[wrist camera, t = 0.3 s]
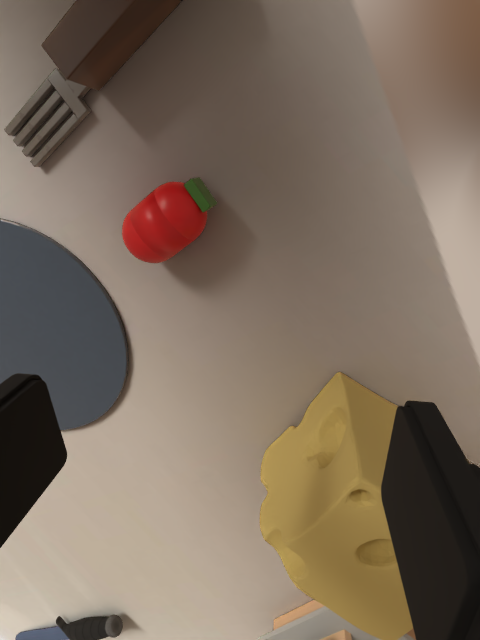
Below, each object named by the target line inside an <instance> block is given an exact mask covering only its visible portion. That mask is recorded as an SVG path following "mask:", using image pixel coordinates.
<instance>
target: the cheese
mask: <svg viewBox="0 0 480 640" xmlns="http://www.w3.org/2000/svg"><path fill="white" fill-rule="evenodd" d="M397 407H399V406H397V405H395V404H393V403H391V402H389V401H387V400H385V399H384V398H382V397H380V396H379V395H377V394H375V393H374V392H372V391H370V390H369V389H367V388H365V387H364V386H362V385H361V384H359V383H357V382H356V381H354V380H353V379H351V378H349V377H348V376H346V375H345V374H343V373H341V372H337V373H336V374H335V375H334V377H333V378H332V379H331V380H330V381H329V382H328V383H327V385H326V386H325V387H324V388H323V389H322V390H321V392H320V393H319V394H318V395H317V396H316V398H315V399H314V400H313V401H312V403H311V404H310V405H309V406H308V408H307V410H306V413H305V415H304V417H303V420H302V421H301V423H300V424H299V426H298V427H295V426H290V427H289V428H288V429H287V430H286V431H285V432H284V433H283V434H282V435H281V436H280V437H279V438H278V439H277V440H276V441H274V442H273V443H272V444H271V445H270V446H269V447H268V448H267V450H266V451H265V454H264V457H263V460H262V464H261V482H262V483H263V484H264V486H265V487H266V489H267V491H268V494H267V496H266V498H265V500H264V501H263V503H262V505H261V510H260V529H261V532H262V535H263V538H264V540H265V541H267V542H268V543H269V544H270V545H272V546H273V547H274V548H275V550H276V551H277V552H278V554H279V556H280V557H281V560H282V562H283V564H284V567H285V569H286V571H287V573H288V575H289V577H290V579H291V580H292V581H293V583H294V584H295V585H296V587H297V588H298V589H300V590H301V591H302V592H304V593H305V594H306V595H308V596H309V597H311V598H313V599H314V600H316V601H317V602H319V603H321V604H322V605H324V606H326V607H327V608H328V609H330V610H331V611H333V612H334V613H336V614H337V615H339V616H340V617H341V618H343V619H344V620H346V621H347V622H349V623H351V624H352V625H354V626H355V627H357V628H359V629H360V630H362V631H364V632H366V633H368V634H370V635H372V636H374V637H376V638H379V639H381V640H398V639H399V638H401V637H402V636H403V635H405V634H406V633H407V632H409V631H410V630H411V629H412V628H413V625H412V621H411V617H410V613H409V609H408V604H407V600H406V596H405V592H404V588H403V584H402V580H401V576H400V572H399V568H398V564H397V560H396V556H395V552H394V548H393V544H392V540H391V536H390V532H389V528H388V524H387V520H386V516H385V512H384V508H383V504H382V498H381V484H382V479H383V474H384V469H385V464H386V459H387V454H388V449H389V444H390V439H391V434H392V429H393V424H394V419H395V414H396V410H397ZM467 461H468V460H467ZM468 463H469V462H468ZM469 464H470V463H469Z"/></svg>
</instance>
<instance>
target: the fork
mask: <svg viewBox="0 0 480 640" xmlns="http://www.w3.org/2000/svg"><path fill="white" fill-rule="evenodd" d="M181 1H182V0H76V2H75V3H74V4H73V5H72V7H71V8H70V9H69V11H68V12H67V13H66V14H65V16H64V17H63V18H62V19H61V21H60V22H59V23H58V25H57V26H56V27H55V28H54V30H53V31H52V32H51V33H50V35H49V36H48V37H47V39H46V40H45V41H44V42H43V44H42V47H43V48H44V50H45V51H46V52H47V54H48V55H49V56H50V58H51V59H52V60H53V62H54V63H55V64H56V66H57V67H58V68H59V69H57V68H55V69H54V70H53V72H52V73H51V74H50V75H49V76H48V78H47V79H46V80H45V81H44V82H43V84H42V85H41V86H40V87H39V88H38V90H37V91H36V92H35V93H34V94H33V96H32V97H31V98H30V99H29V100H28V102H27V103H26V104H25V105H24V107H23V108H22V109H21V110H20V111H19V113H18V114H17V115H16V116H15V117H14V119H13V120H12V121H11V122H10V123H9V125H8V126H7V127H6V128H5V129H4V130H5V132H6V133H7V134H8V135H10V136H14V135H15V134H16V133H17V132H18V131H19V130H20V128H21V127H22V126H23V125H24V124H25V123H26V121H27V120H28V119H29V118H30V117H31V116H32V114H33V113H34V112H35V111H36V110H37V108H38V107H39V106H40V105H41V104H42V103H43V101H44V100H45V99H46V98H47V97H48V96H49V94H50V93H51V92H52V91H53V90H54V89H56V91H55V92H54V93H53V94H52V96H51V97H50V98H49V99H48V100H47V101H46V103H45V104H44V105H43V106H42V107H41V108H40V110H39V111H38V112H37V113H36V114H35V115H34V117H33V118H32V119H31V120H30V121H29V122H28V124H27V125H26V126H25V127H24V128H23V129H22V131H21V132H20V133H19V134H18V135H17V136H16V138H15V139H14V140H13V141H14V143H15V144H16V145H17V146H23V145H24V144H25V143H26V142H27V141H28V140H29V139H30V137H31V136H32V135H33V134H34V133H35V132H36V131H37V129H38V128H39V127H40V126H41V125H42V124H43V123H44V121H45V120H46V119H47V118H48V117H49V116H50V115H51V113H52V112H53V111H54V110H55V109H56V108H57V107H58V106H59V104H60V103H61V102H62V101H63V100H64V101H65V103H64V104H63V105H62V106H61V107H60V108H59V110H58V111H57V112H56V113H55V114H54V115H53V116H52V118H51V119H50V120H49V121H48V122H47V123H46V124H45V125H44V127H43V128H42V129H41V130H40V131H39V132H38V133H37V135H36V136H35V137H34V138H33V139H32V140H31V141H30V142H29V144H28V145H27V146H26V147H25V148H24V149H23V150H22V152H23V153H24V155H25V156H26V157H31V156H32V155H33V154H34V153H35V152H36V151H37V150H38V149H39V147H40V146H41V145H42V144H43V143H44V142H45V141H46V140H47V139H48V138H49V136H50V135H51V134H52V133H53V132H54V131H55V130H56V129H57V128H58V126H59V125H60V124H61V123H62V122H63V121H64V120H65V119H66V118H67V117H68V115H69V114H70V113H71V112H72V111H73V112H74V114H73V115H72V116H71V117H70V119H69V120H68V121H67V122H66V123H65V124H64V125H63V126H62V127H61V128H60V129H59V131H58V132H57V133H56V134H55V135H54V136H53V137H52V138H51V139H50V140H49V142H48V143H47V144H46V145H45V146H44V147H43V148H42V149H41V150H40V151H39V153H38V154H37V155H36V156H35V157H34V158H33V159H32V160H31V161H30V162H31V163H32V164H33V166H34V167H40V166H41V165H42V163H43V162H44V161H45V160H46V159H47V158H48V157H49V156H50V155H51V154H52V153H53V152H54V151H55V149H56V148H57V147H58V146H59V145H60V144H61V143H62V142H63V141H64V140H65V139H66V138H67V137H68V136H69V134H70V133H71V132H72V131H73V130H74V129H75V128H76V127H77V126H78V125H79V124H80V123H81V122H82V120H83V119H84V118H85V117H86V116H87V115H88V114H89V113H90V112H91V110H90V109H89V107H88V106H87V105H86V103H85V102H84V101H83V99H82V98H83V97H84V96H85V94H86V93H87V92H88V91H89V90H90V89H91V88H92V89H95V90H98V91H99V90H100V89H101V88H102V87H103V86H104V85H105V84H106V83H107V82H108V81H109V80H110V79H111V77H112V76H113V75H114V74H115V73H116V72H117V71H118V70H119V69H120V68H121V67H122V65H123V64H124V63H125V62H126V61H127V60H128V59H129V58H130V57H131V56H132V55H133V53H134V52H135V51H136V50H137V49H138V48H139V47H140V46H141V45H142V44H143V43H144V41H145V40H146V39H147V38H148V37H149V36H150V35H151V34H152V33H153V32H154V31H155V29H156V28H157V27H158V26H159V25H160V24H161V23H162V22H163V21H164V20H165V19H166V17H167V16H168V15H169V14H170V13H171V12H172V11H173V10H174V9H175V8H176V7H177V5H178V4H179V3H180V2H181Z"/></svg>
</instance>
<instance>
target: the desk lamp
mask: <svg viewBox="0 0 480 640" xmlns="http://www.w3.org/2000/svg"><path fill="white" fill-rule="evenodd" d="M258 640H381V639H379V638H376V637H374V636H372V635H370V634H368V633H366V632H364V631H362V630H360V629H359V628H357V627H355V626H354V625H352V624H351V623H349V622H347V621H346V620H344V619H343V618H341V617H340V616H339V615H337V614H336V613H334V612H333V611H331V610H330V609H328V608H327V607H326V606H324V605H322V604H321V603H319V602H317V601H316V600H312V601H310V602H308V603H306V604H304V605H302V606H300V607H298V608H296V609H294V610H292V611H290V612H288V613H286V614H284V615H282V616H280V617H278V618H276V619H274V630H273V631H271V632H269V633H267V634H265V635H263V636H261V637H259V638H258ZM398 640H416V637H415V633H414V629H413V628H412V629H411V630H410V631H409V632H407V633H406V634H405V635H403V636H402V637H401V638H399V639H398Z"/></svg>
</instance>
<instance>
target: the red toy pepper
mask: <svg viewBox="0 0 480 640" xmlns="http://www.w3.org/2000/svg"><path fill="white" fill-rule="evenodd" d="M216 204H217V202H216V200H215V199H214V197H213V196H212V195H211V193H210V192H209V190H208V189H207V187H206V186H205V184H204V183H203V182H202V180H201V179H200V178H193V179H190V180H189V181H188V182H186V183H182V182H168V183H165V184H163V185H160V186H159V187H158V188H156V189H155V190H154V191H153V192H151V193H150V194H149V195H148V196H147V197H146V198H144V199H143V200H142V201H141V202H140V203H139V204H138V205H136V206H135V207H134V208H133V209H132V210H131V211H130V212H129V213H128V214H127V216H126V218H125V220H124V222H123V227H122V236H123V240H124V243H125V245H126V247H127V248H128V250H129V251H130V252H131V253H132V254H133V255H134V256H135V257H136V258H138V259H140V260H142V261H145V262H149V263H160V262H163V261H166V260H168V259H170V258H171V257H173V256H174V255H175V254H177V253H178V252H179V251H181V250H182V249H183V248H185V247H186V246H187V245H189V244H190V243H191V242H193V241H194V240H195V239H196V238H197V237H199V236H200V234H201V233H202V231H203V230H204V228H205V225H206V221H207V210H209V209H211V208H212V207H214V206H215V205H216Z"/></svg>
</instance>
